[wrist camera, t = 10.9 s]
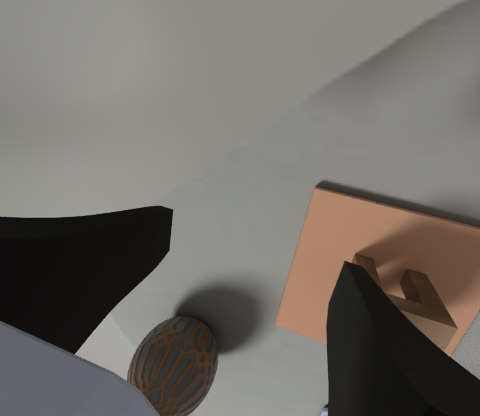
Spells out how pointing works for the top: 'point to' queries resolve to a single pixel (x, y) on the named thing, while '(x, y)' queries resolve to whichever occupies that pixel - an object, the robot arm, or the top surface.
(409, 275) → the notched brown block
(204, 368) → the vase
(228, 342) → the top surface
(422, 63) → the top surface
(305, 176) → the top surface
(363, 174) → the top surface
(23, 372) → the robot arm
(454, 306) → the mat
